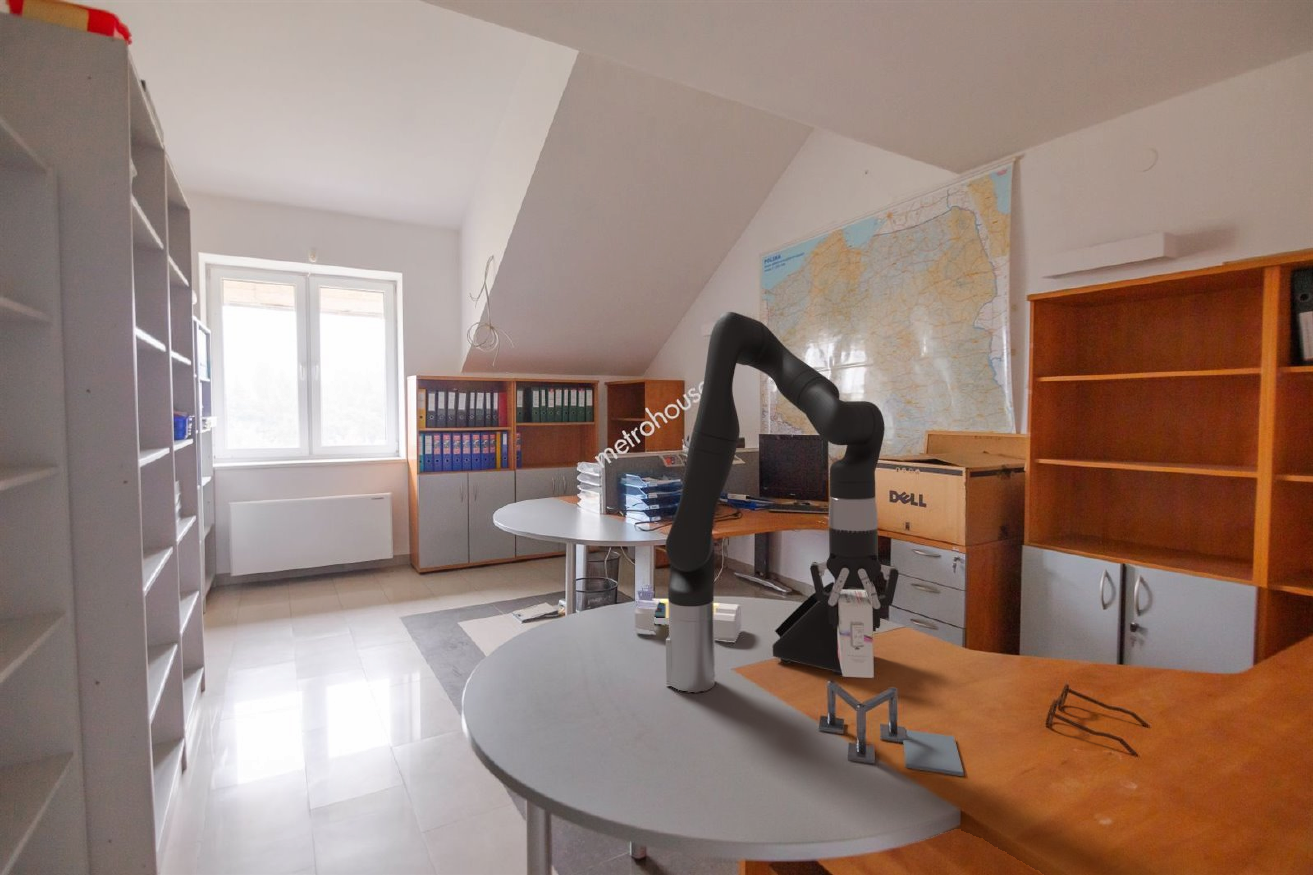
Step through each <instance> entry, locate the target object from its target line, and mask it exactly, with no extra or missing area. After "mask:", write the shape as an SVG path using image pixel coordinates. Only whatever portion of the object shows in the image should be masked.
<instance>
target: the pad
mask: <svg viewBox="0 0 1313 875" xmlns="http://www.w3.org/2000/svg"><path fill="white" fill-rule="evenodd" d="M905 730H906V740H904V739H903V743H902V744H903V753H904V761H905V762H904V763H905V768H907V769H912V770H920V771H926V772H932V773H940V774H944V775H945V774H946V775H953V776H957V777H964V770H963V766H962V762H961V758H960V754H959V751H958V747H957V744H956V740H955V739H956V738H955V736H954V735H946V734H939V733H932V732H925V731H919V730H911V729H910V730H909V729H905Z"/></svg>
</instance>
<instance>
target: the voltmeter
mask: <svg viewBox="0 0 1313 875" xmlns="http://www.w3.org/2000/svg"><path fill="white" fill-rule="evenodd" d="M834 580H835V581H836V579H835V578H834ZM835 581H832V582H830V583H828V584H827V585H824V591H825V592H826V593H829V594H830V593H831V591H832V588H833V586H834V583H835ZM842 589H846V590H865V588H864V589H859V588H856V587H851V588H844V587H843V588H842ZM836 603H837V602H836ZM774 632H775V633H776V634H777V635H778V636H779V638H778V639H777V640H776V641H775V642H774V643H773V644H772V657H774V658H776V659H780V662H781V663H782V664H790V663H791V662H796V663H799V664H802V665H803V664H804V665H809V666H813V667H817V668H821V669H826V670H830V671H832V672H833V675H834V676H838V677H841V676H842V677H843V675H842V670H841V666H840V662H839V658H838V628H833V624H830V623H829V613H828V604H827V603H825V602H823V601H819V600H818V599H817V596H816V592H814V593H812V594H811V595H810V596H809V597H808V598H806V600H804V601H803V602H802V603H801V604H800V605H799V606H798V607H797V608H796V609H795V610H794V611H793V612H792V613H791V614H790V615H789V616H788V617H787V618H786V619H785V620H784V621H783V622H782V623H781V624H779V626H778V627H777V628H776V629H775V630H774Z"/></svg>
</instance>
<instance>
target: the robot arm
mask: <svg viewBox="0 0 1313 875" xmlns="http://www.w3.org/2000/svg"><path fill="white" fill-rule="evenodd" d="M706 356H707V357H706V364H705V370H704V371H705V372H704V376H703V377H704V378H703V383H702V384H703V385H702V390H701V394H700V400H699V404H698V409H697V413H696V418H695V420H694V424H693V428H692V432H691V436H690V441H689V446H688V451H687V454H686V455H687V456H686V459H685V460H686V461H685V465H684V473H683V479H682V480H683V481H682V488H681V492H680V493H681V494H680V500H679V502H678V507H677V509H676V511H675V515H674V518H673V521H672V523H671V526H670V530H669V532H668V534H667V537H666V539H665V553H666V556H667V559H668V561H669V568H670V569H669V581H668V587H667V592H668V593H667V596H668V597H667V599H668V612H669V626H668V636H667V638H666V639H665V672H666V673H665V676H666V678H665V681H666V682H665V684H667V685H671V686H673V687H675V688H677V689H678V690H677V691H679V690H682V691H688V692H687V693H691V692H694V693H700V692H699V691H703V692H706V691H708V690H711V689H713V687H714V686H715V684H716V683H715V680H716V679H715V678H716V672H715V664H716V663H715V640H714V603H715V601H714V599H715V598H714V597H715V596H714V589H715V539H714V535H713V528H714V522H715V517H716V516H715V515H716V511H717V507H718V503H719V501H720V498H721V496H722V493H723V490H724V488H725V486H726V485H727V484H726V483H727V481H728V479H729V476H730V473H731V469H732V467H733V463H734V460H735V456H736V451H737V448H738V443H739V439H740V434H741V432H740V421H739V416H738V412H737V408H736V404H735V399H734V398H735V397H734V394H733V393H734V392H733V387H734V386H733V384H734V375H735V371H736V367H737V364H738V365H741V366H749V367H751V368H754V369H756V370H758V371H760V372H762V373H764V374H765V375H767V376H768V377H770V379H772V381H773V382H774V385H775V387H776V388H777V390H778V391H779V392H780V394H781V395H782V396H783V397H784V398H785V399H786V400H787V401H788V402H789V403H791V404H792V405H793V406H794V407H795V408H797V409H798V410H799V411H800V412H802V413H803V414H805V416H806V417H807V419H808V421H809V423H810V424H811V425H812V427H813V428H814V430H815V431H816V433H817V434H818V435H819V437H821V438H822V439H823V440H825V441H826V442H828V443H830V444H832V445H835V446H846V449H845V452H844V456H843V457H842V458H841V459H839V460H836V461H834V462H833V463H832V464H831V466H830V467H829V468H830V469H829V496H830V497H829V506H828V543H829V544H828V549H829V550H828V552H829V553H828V554H829V556H828V558H827V559H826V561H824V562H816V561H812V563H811V564H810V567H809V570H810V574H811V575H810V576H811V578H812V582H813V587H814V591H815V592H816V596H817V599H818V600H819V601H823V602H825V603H827V604H828V613H829V623H830V624H833V628H838V604H837V603H836V602H837V599H838V597H839V595H840V593H841V590H842V588H843V587H844V588H851V587H856V588H859V589H864V588H865V590H866V593H867V595H868V597H869V592H868V585H867V582H869V584H870V589H871V598H872V609H873V632H876V631H877V630H876V629H880V627H881V609H882V608H884V607H887V606H888V607H890V606H892V604H893V602H894V597H895V592H896V589H897V583H898V578H899V574H900V573H899V572H900V571H899V568H898V567H897V566H895V565H891V566H889V565H885V564H882V562H880V559H879V551H878V550H879V549H878V548H879V544H878V542H879V539H878V538H879V534H878V533H879V532H878V530H879V529H878V524H879V518H878V508H877V502H876V499H877V498H876V469H877V466H878V462H879V459H880V455H881V454H880V453H881V451H882V450H881V449H882V445H883V441H884V436H885V428H886V427H885V426H886V425H885V419H884V415H883V414H882V410H880V408H879V407H878V405H876V404H875V403H873V402H871V401H865V400H861V401H860V400H857V401H856V400H855V401H852V400H851V401H848V400H847V401H844V400H842V399H840V397H841V396H840V391H839V388H838V387H837V385H836V384H835V383H834V382H832V380H830V379H828V378H827V377H826V376H825V375H823V374H821V373H820V372H819V371H817V370H816V369H815V368H813V367H812V366H810V365H809V364H808V363H806V362H805V361H803V360H802V359H800V358H799V357H797V356H796V355H795V354H794V353H792V352H791V351H790V350H789V349H788V348H787V347H786V346H785V345H784V344H783V343H782V342H781V340H779V338H777V336H776V335H775V334H774V333H773V332H772V331H771V330H770V329H769V328H768V327H767V326H766V325H765V324H764V323H763V322H762V321H759V320H757V319H755V318H752V317H749V316H746V315H743V314H740V313H737V312H734V311H727V312H725V313H723V314H722V315H720V316H719V317H718V319H717V320H716V321H715V323H714V325H713V327H712V331H711V333H710V337H709V342H708V348H707V355H706ZM826 570H828V571H829V573H830V574H831V575H832V577H833V578H834V580H835V579H836V581H834V586H833V588H832V591H831V593H830V594H829V593H826V592H825V591H824V587H825V585H824V583H823V578H822V577H823V576H824V575H825V571H826ZM880 572H881V573H882V575H883V579H884V580H885V581H886V585H885V589H884V594H883V595H882V596H879V595H878V592H877V591H876V587H875V585H874V582H873V581H874V580H875V579H876V578H877V576H878V575H879V574H880ZM815 592H814V593H815ZM682 691H681V692H682Z"/></svg>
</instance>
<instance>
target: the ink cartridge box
mask: <svg viewBox="0 0 1313 875" xmlns="http://www.w3.org/2000/svg"><path fill="white" fill-rule="evenodd" d="M867 585H868V592H869V597H868V595H867V593H866V590H846V589H842V590H841V593H840V595H839V597H838V599H837V604H838V658H839V662H840V666H841V670H842V675H843V676H842V677H846V678H847V677H849V678H868V679H869V678H870V679H872V678H874V676H875V673H874V631H873V609H872V598H871V589H870V584H869V582H867Z"/></svg>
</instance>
